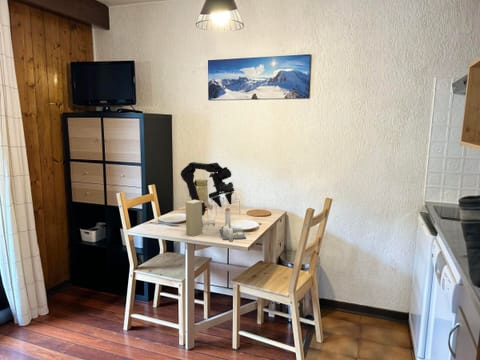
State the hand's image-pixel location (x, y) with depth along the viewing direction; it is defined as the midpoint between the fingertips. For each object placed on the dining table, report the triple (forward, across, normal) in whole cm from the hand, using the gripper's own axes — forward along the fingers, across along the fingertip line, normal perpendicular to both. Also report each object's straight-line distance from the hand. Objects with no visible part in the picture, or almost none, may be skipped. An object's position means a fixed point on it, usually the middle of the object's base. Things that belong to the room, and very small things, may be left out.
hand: (225, 205), depth 218 cm
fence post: (+16, -1, +5) cm, 16 cm away
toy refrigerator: (+10, -14, +21) cm, 27 cm away
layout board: (+18, 0, +2) cm, 19 cm away
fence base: (+19, -7, 0) cm, 21 cm away
